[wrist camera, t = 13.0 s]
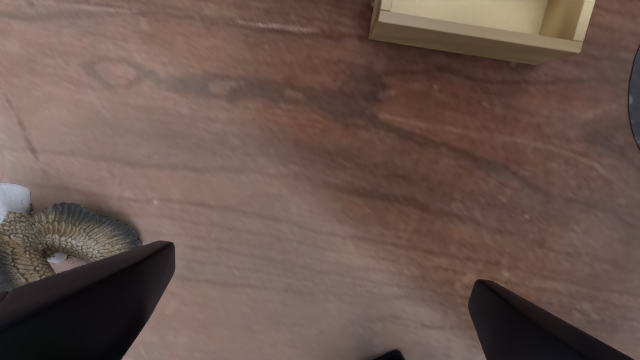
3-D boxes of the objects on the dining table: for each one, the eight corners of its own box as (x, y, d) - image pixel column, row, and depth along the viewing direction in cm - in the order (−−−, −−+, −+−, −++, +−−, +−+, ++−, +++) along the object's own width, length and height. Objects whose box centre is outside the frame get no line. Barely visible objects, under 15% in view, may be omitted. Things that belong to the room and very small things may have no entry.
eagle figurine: (-13, 276, 21) (86, 344, 20) (-148, 261, 14) (-9, 362, 13) (74, 190, 24) (164, 246, 23) (-5, 146, 17) (117, 222, 16)
